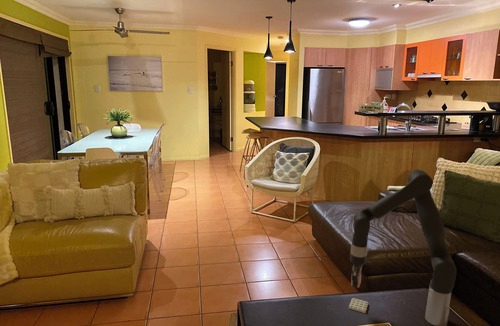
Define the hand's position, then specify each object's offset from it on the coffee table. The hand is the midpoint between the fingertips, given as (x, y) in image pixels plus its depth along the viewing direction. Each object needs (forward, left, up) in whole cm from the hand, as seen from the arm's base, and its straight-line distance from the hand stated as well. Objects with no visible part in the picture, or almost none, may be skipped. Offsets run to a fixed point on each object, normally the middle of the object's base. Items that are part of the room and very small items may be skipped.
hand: (355, 284), depth 178 cm
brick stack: (0, 0, 0) cm, 0 cm away
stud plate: (-2, -2, -13) cm, 14 cm away
